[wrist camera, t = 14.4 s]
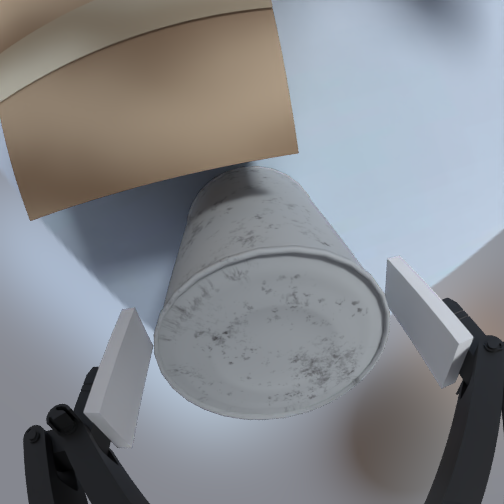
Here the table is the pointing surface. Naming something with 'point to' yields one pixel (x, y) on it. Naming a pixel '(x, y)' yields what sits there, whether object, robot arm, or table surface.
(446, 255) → the table surface
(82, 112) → the lid
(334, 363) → the grey cylinder
